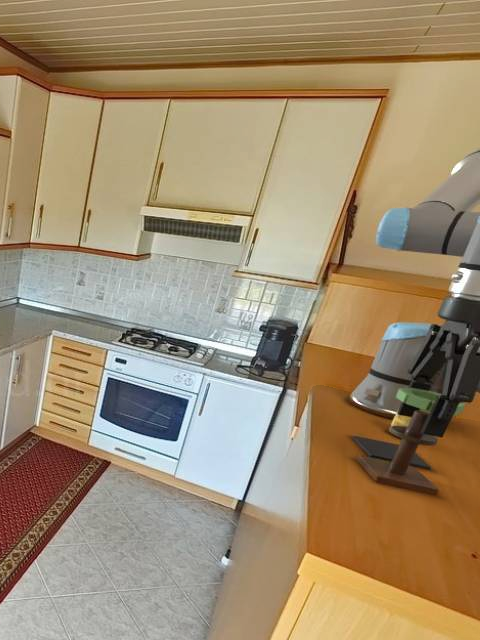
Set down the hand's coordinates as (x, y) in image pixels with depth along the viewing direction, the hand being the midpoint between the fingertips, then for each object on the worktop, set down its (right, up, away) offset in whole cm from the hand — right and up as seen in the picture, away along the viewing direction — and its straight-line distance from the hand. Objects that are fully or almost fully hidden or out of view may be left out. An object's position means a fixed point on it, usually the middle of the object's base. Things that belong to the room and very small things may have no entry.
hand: (418, 424), depth 87 cm
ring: (0, +4, -1) cm, 4 cm away
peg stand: (-1, -10, +4) cm, 11 cm away
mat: (+7, -7, +14) cm, 17 cm away
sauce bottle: (+19, -5, +23) cm, 30 cm away
